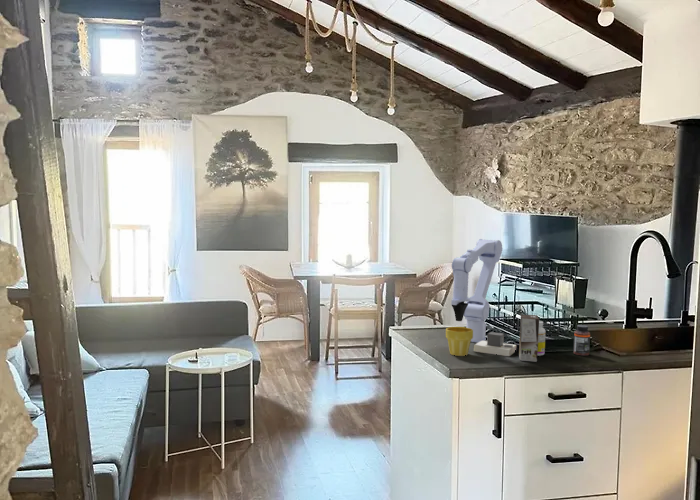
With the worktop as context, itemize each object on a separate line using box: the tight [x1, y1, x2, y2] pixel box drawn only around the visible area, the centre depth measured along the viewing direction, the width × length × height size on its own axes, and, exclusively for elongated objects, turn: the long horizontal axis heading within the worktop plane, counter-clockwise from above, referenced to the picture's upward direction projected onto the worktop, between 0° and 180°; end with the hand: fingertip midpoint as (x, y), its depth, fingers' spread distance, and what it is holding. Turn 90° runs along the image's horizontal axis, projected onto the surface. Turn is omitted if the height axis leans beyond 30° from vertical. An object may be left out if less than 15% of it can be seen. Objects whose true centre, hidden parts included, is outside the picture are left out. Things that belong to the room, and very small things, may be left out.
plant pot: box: [445, 326, 473, 357], centre depth 255 cm, size 10×10×10 cm
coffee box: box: [518, 314, 540, 363], centre depth 251 cm, size 9×6×16 cm
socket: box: [473, 340, 517, 357], centre depth 262 cm, size 10×14×3 cm
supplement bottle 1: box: [537, 320, 546, 357], centre depth 258 cm, size 7×7×13 cm
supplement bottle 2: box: [572, 324, 591, 357], centre depth 260 cm, size 6×6×11 cm
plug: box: [486, 331, 505, 347], centre depth 261 cm, size 4×5×6 cm
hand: (458, 320), depth 268 cm, fingers closed
